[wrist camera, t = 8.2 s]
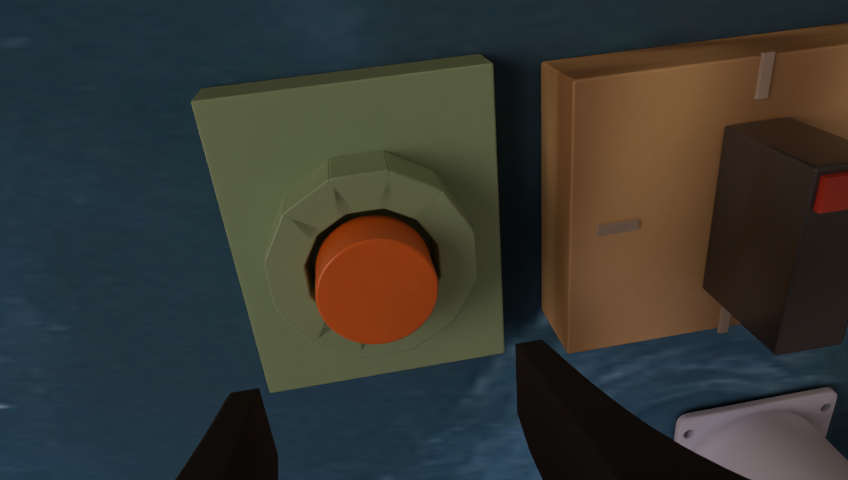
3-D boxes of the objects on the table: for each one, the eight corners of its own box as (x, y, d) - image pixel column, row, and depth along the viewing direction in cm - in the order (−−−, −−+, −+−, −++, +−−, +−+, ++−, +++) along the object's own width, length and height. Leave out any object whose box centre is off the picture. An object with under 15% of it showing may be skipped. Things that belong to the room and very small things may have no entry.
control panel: (541, 312, 25) (569, 360, 22) (540, 58, 20) (575, 77, 17) (811, 267, 26) (871, 306, 23) (870, 16, 21) (953, 28, 18)
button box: (493, 328, 25) (518, 384, 22) (272, 365, 24) (265, 428, 21) (480, 53, 20) (510, 74, 17) (200, 88, 19) (176, 117, 16)
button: (434, 304, 20) (443, 335, 19) (326, 321, 20) (326, 354, 18) (424, 205, 18) (433, 230, 17) (305, 223, 18) (304, 249, 17)
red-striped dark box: (758, 278, 22) (849, 349, 18) (700, 288, 22) (780, 361, 18) (788, 115, 19) (903, 159, 15) (723, 125, 19) (823, 171, 15)
